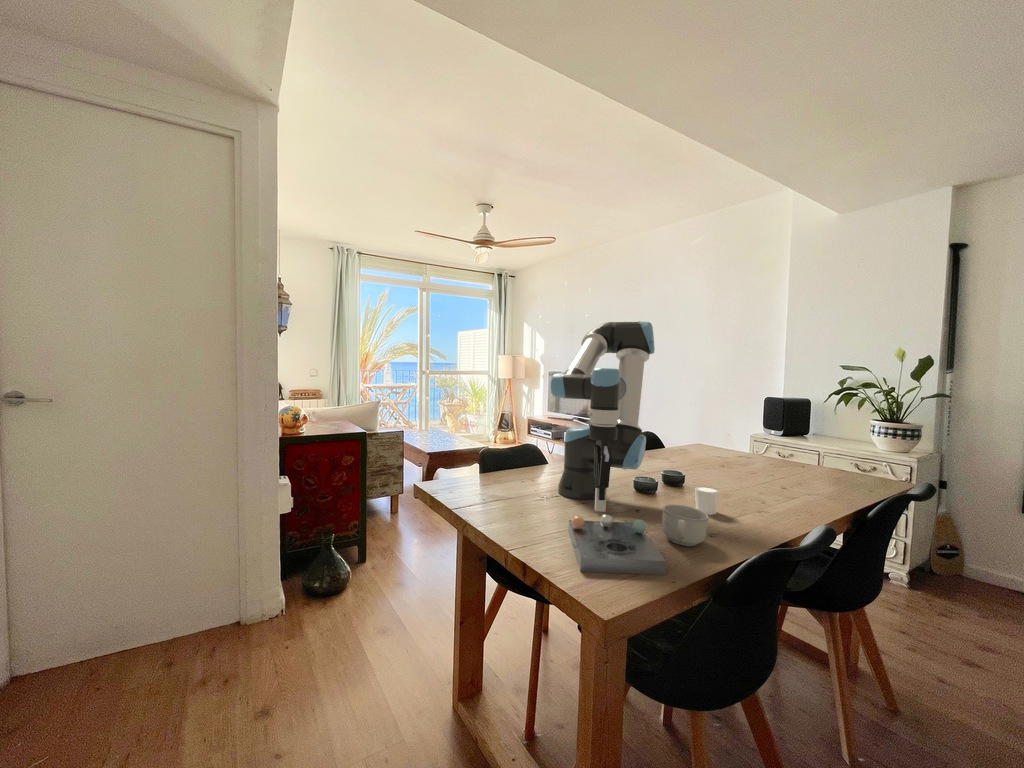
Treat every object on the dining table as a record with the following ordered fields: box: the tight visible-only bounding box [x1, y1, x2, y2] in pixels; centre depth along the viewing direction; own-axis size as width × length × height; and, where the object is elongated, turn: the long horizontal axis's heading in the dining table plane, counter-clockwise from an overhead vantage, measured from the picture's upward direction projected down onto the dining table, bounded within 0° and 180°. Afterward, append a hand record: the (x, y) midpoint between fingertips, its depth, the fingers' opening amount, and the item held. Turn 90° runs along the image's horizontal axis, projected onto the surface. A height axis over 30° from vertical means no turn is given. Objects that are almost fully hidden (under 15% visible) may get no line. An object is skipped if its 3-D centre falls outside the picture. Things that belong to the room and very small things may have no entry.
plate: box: [568, 519, 667, 576], centre depth 100 cm, size 22×18×3 cm
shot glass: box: [694, 486, 720, 516], centre depth 130 cm, size 7×7×7 cm
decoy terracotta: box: [571, 515, 585, 529], centre depth 105 cm, size 3×3×3 cm
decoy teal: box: [632, 519, 647, 533], centre depth 104 cm, size 3×3×3 cm
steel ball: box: [599, 513, 614, 528], centre depth 107 cm, size 3×3×3 cm
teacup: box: [661, 504, 710, 547], centre depth 105 cm, size 14×11×8 cm
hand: (600, 510), depth 115 cm, fingers closed
